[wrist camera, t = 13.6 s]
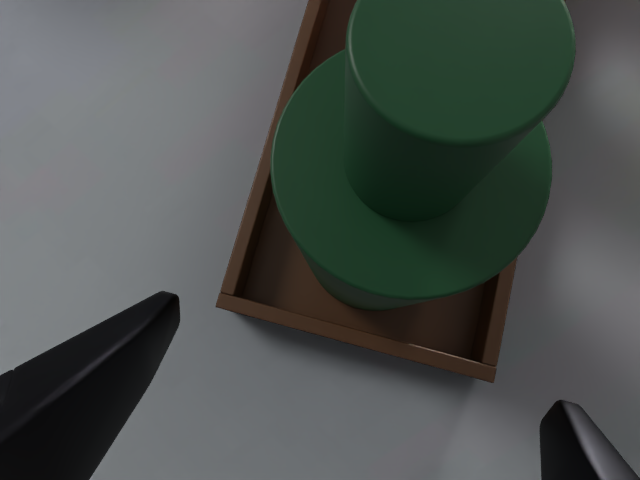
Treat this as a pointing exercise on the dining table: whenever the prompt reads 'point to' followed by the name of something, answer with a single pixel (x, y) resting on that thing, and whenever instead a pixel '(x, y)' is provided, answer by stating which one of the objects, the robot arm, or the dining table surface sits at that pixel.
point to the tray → (307, 293)
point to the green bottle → (423, 146)
